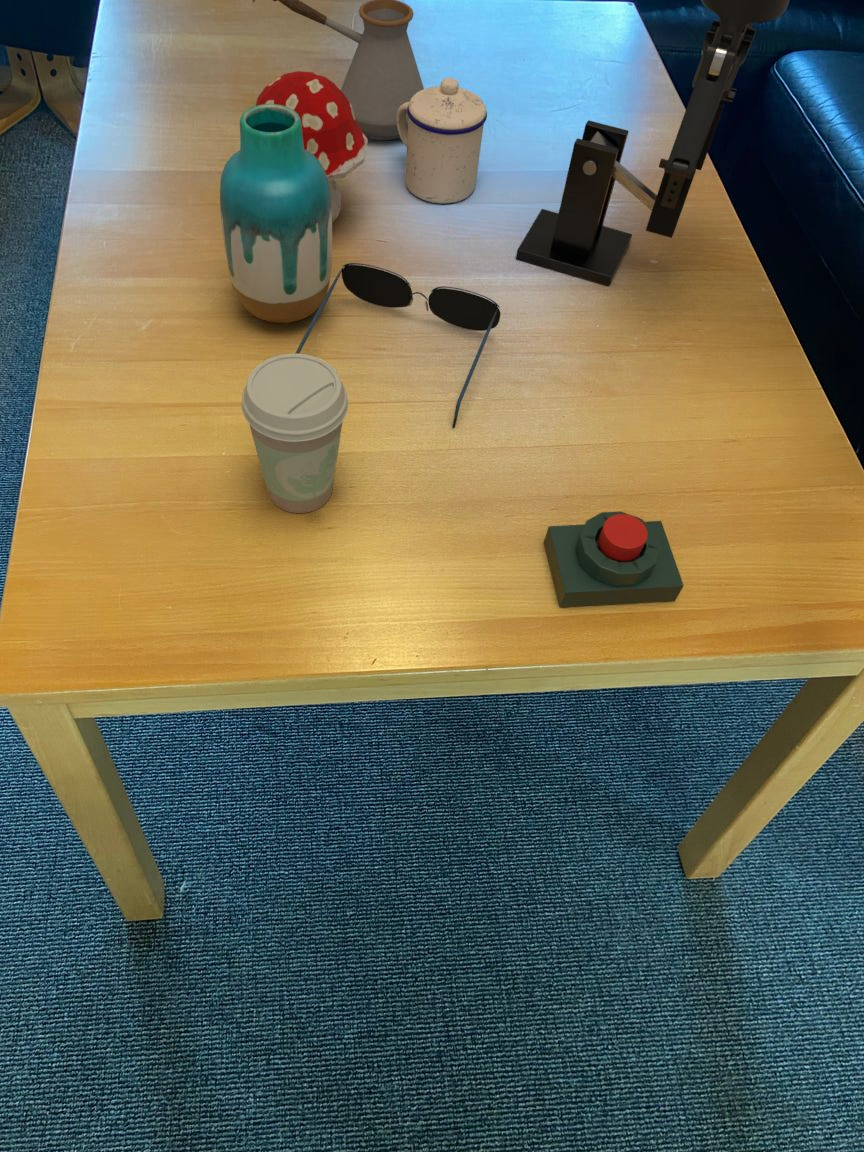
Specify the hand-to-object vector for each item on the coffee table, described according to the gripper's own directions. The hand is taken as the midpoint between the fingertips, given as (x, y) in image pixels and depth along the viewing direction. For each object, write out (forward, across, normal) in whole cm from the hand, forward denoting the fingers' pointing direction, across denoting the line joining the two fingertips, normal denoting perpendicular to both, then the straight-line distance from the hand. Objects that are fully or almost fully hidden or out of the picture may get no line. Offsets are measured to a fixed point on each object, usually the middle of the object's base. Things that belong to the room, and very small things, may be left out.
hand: (674, 198), depth 89 cm
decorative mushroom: (+9, +8, -39) cm, 41 cm away
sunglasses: (+9, +26, -20) cm, 34 cm away
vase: (+9, +24, -34) cm, 43 cm away
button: (+5, +43, +7) cm, 44 cm away
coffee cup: (+9, +46, -21) cm, 51 cm away
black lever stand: (+9, 0, -9) cm, 12 cm away
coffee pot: (+9, -13, -44) cm, 47 cm away
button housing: (+8, +43, +7) cm, 45 cm away
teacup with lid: (+9, -6, -29) cm, 31 cm away
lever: (+1, 0, -5) cm, 5 cm away
